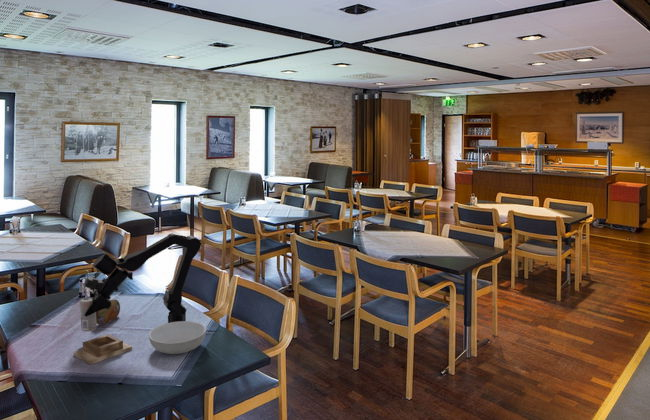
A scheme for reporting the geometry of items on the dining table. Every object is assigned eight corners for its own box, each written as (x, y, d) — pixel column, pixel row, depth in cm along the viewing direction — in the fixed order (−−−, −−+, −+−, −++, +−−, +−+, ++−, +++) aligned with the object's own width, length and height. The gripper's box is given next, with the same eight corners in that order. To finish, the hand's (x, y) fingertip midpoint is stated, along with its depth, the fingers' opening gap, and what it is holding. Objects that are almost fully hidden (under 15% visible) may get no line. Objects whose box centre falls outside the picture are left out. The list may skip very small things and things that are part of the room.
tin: (99, 327, 205) (98, 308, 204) (92, 327, 205) (91, 307, 204) (121, 315, 219) (120, 297, 218) (114, 314, 220) (114, 296, 219)
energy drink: (92, 325, 194) (90, 296, 192) (99, 328, 191) (97, 299, 189) (78, 329, 189) (76, 299, 187) (86, 332, 186) (84, 302, 184)
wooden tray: (114, 341, 192) (114, 331, 191) (132, 349, 185) (131, 338, 184) (73, 355, 179) (73, 344, 178) (90, 364, 172) (90, 353, 171)
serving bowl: (147, 341, 192) (147, 325, 191) (201, 334, 200) (201, 318, 199) (151, 364, 173) (150, 346, 172) (210, 355, 181) (210, 337, 180)
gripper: (93, 264, 196) (64, 294, 192) (100, 275, 181) (68, 309, 177) (115, 280, 202) (88, 310, 198) (123, 292, 186) (93, 325, 182)
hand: (84, 313), depth 188 cm, fingers closed on energy drink, 5 cm apart
